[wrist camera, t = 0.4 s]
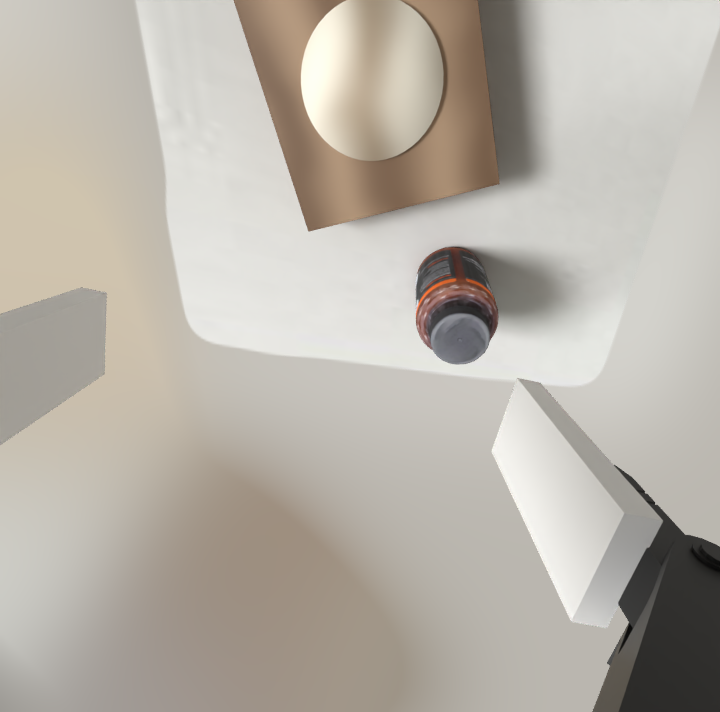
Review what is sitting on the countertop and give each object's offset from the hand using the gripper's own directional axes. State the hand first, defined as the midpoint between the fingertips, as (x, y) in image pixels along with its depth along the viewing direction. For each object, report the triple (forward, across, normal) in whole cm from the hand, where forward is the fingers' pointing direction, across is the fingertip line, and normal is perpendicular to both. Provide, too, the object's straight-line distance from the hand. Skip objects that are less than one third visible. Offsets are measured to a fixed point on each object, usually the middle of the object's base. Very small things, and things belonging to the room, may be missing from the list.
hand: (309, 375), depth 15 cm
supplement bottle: (+27, +9, 0) cm, 29 cm away
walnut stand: (+25, 0, +13) cm, 28 cm away
